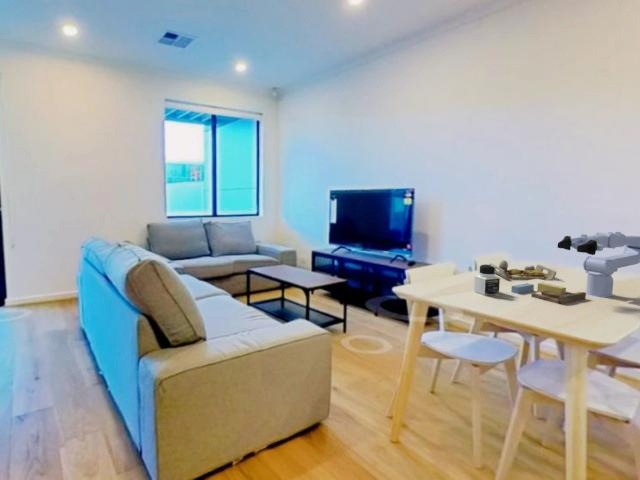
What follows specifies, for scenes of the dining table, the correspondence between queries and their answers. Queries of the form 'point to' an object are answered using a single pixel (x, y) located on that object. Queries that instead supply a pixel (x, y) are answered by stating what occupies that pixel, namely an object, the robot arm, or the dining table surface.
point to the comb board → (560, 297)
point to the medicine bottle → (486, 281)
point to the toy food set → (524, 272)
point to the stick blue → (522, 288)
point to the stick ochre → (551, 288)
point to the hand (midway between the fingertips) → (568, 247)
